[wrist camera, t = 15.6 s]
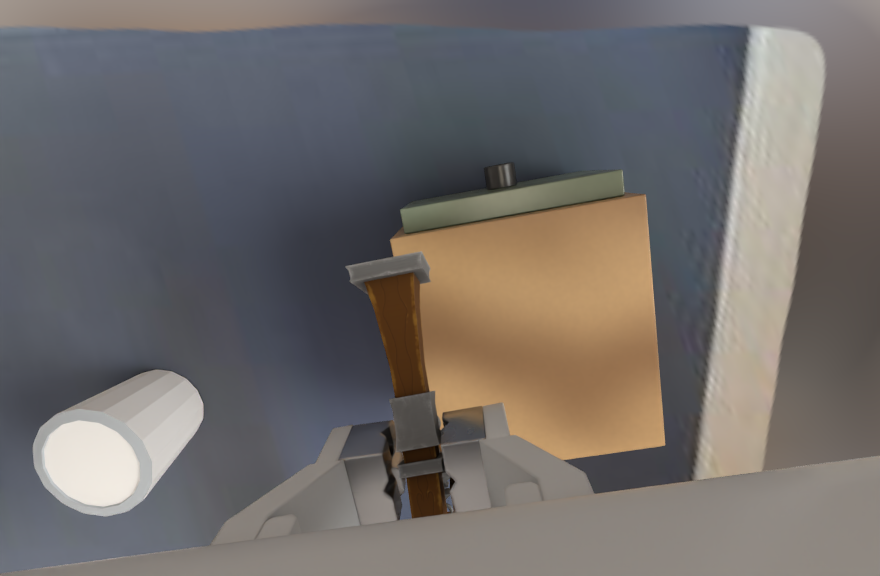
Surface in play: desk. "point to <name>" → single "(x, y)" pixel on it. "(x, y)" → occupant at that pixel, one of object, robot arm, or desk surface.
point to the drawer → (510, 197)
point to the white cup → (117, 442)
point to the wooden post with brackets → (408, 375)
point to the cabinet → (547, 324)
